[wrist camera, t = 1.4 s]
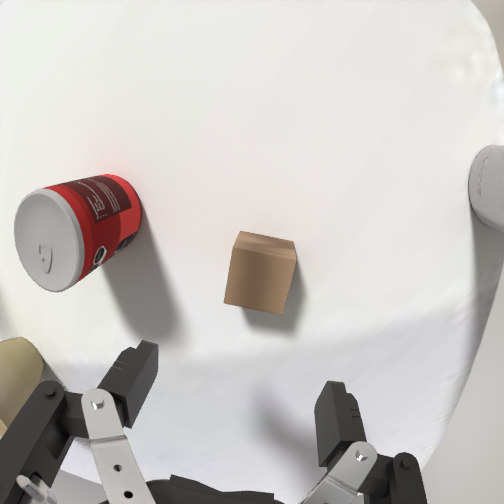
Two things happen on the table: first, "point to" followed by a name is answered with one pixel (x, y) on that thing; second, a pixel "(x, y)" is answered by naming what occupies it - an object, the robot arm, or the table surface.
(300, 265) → the table surface
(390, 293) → the table surface
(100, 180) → the canned food
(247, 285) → the walnut cube
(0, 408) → the plant pot
